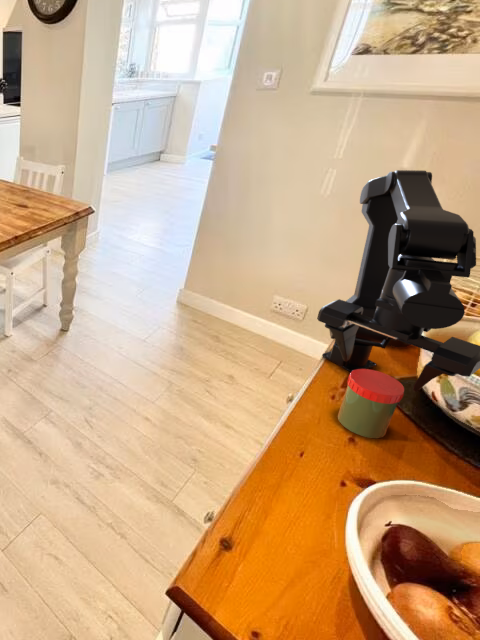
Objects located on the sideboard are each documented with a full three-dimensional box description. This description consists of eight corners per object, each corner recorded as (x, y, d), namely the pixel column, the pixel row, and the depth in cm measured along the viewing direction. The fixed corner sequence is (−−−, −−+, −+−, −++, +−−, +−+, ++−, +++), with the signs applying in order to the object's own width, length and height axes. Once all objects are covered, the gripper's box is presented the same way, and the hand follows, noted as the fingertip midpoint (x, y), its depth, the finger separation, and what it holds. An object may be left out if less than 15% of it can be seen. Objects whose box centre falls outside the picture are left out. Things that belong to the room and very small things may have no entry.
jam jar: (353, 406, 77) (367, 366, 73) (395, 431, 71) (412, 389, 67) (328, 417, 75) (341, 376, 72) (368, 443, 70) (384, 400, 66)
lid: (361, 401, 68) (364, 393, 67) (339, 375, 74) (341, 367, 73) (412, 406, 66) (415, 397, 65) (385, 378, 72) (388, 370, 71)
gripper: (524, 304, 57) (482, 388, 64) (361, 262, 73) (340, 333, 79) (490, 329, 54) (449, 417, 60) (325, 279, 69) (306, 352, 76)
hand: (379, 374), depth 69 cm, fingers open, 9 cm apart
